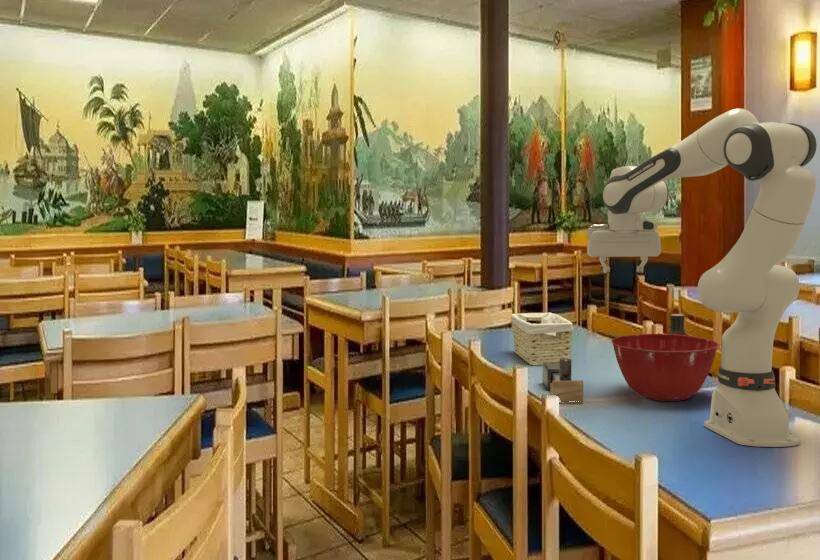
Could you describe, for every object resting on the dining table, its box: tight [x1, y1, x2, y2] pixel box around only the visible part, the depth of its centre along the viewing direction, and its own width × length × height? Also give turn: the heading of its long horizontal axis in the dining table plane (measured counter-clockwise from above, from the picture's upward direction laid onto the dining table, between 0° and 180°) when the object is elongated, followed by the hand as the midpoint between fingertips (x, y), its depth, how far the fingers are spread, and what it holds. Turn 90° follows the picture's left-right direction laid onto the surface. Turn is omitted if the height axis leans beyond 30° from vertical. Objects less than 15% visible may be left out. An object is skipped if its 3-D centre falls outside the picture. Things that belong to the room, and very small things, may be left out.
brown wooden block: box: [550, 380, 584, 403], centre depth 202 cm, size 4×8×6 cm, turn 88°
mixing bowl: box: [610, 333, 720, 402], centre depth 207 cm, size 28×28×15 cm
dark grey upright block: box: [552, 358, 573, 381], centre depth 208 cm, size 12×4×10 cm, turn 178°
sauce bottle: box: [667, 313, 687, 336], centre depth 225 cm, size 6×6×20 cm
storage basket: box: [510, 312, 574, 366], centre depth 258 cm, size 24×16×15 cm
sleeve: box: [542, 362, 560, 391], centre depth 219 cm, size 9×7×6 cm
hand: (623, 272), depth 211 cm, fingers open, 8 cm apart
